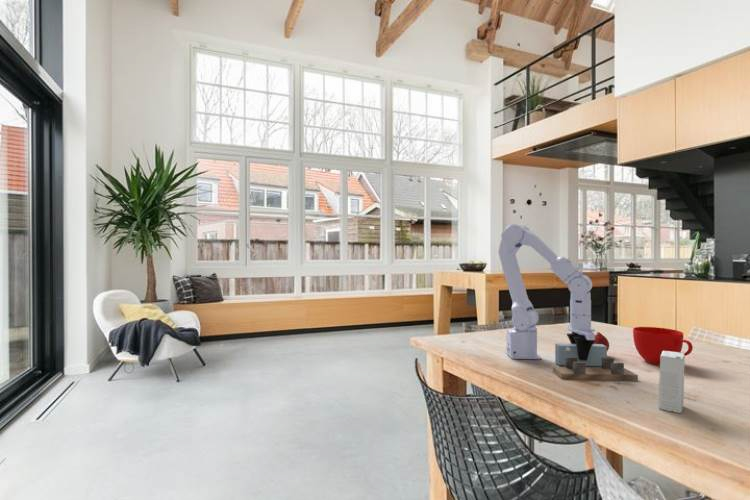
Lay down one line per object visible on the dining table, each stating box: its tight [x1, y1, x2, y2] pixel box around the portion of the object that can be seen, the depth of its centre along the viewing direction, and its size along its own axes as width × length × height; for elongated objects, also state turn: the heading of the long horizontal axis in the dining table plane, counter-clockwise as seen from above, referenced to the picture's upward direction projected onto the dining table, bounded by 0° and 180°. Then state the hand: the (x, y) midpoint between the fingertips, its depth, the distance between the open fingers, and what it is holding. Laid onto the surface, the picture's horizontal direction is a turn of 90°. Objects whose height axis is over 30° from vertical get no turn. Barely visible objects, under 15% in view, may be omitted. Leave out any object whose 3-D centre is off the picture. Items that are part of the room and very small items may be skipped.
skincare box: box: [658, 351, 686, 414], centre depth 89 cm, size 6×4×12 cm
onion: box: [593, 331, 610, 352], centre depth 134 cm, size 6×6×8 cm
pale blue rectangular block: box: [554, 342, 608, 367], centre depth 122 cm, size 14×4×6 cm, turn 85°
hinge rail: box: [552, 357, 639, 382], centre depth 112 cm, size 20×6×4 cm, turn 85°
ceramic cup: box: [632, 326, 694, 366], centre depth 123 cm, size 13×17×10 cm
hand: (580, 358), depth 123 cm, fingers closed on pale blue rectangular block, 3 cm apart
